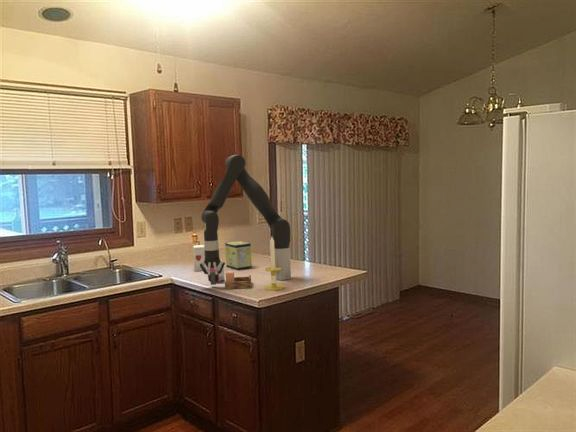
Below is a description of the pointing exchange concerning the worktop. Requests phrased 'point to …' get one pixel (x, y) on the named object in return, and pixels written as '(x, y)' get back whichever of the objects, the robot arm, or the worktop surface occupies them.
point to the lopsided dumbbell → (228, 277)
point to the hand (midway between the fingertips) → (213, 281)
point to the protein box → (238, 255)
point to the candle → (273, 269)
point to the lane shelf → (239, 283)
